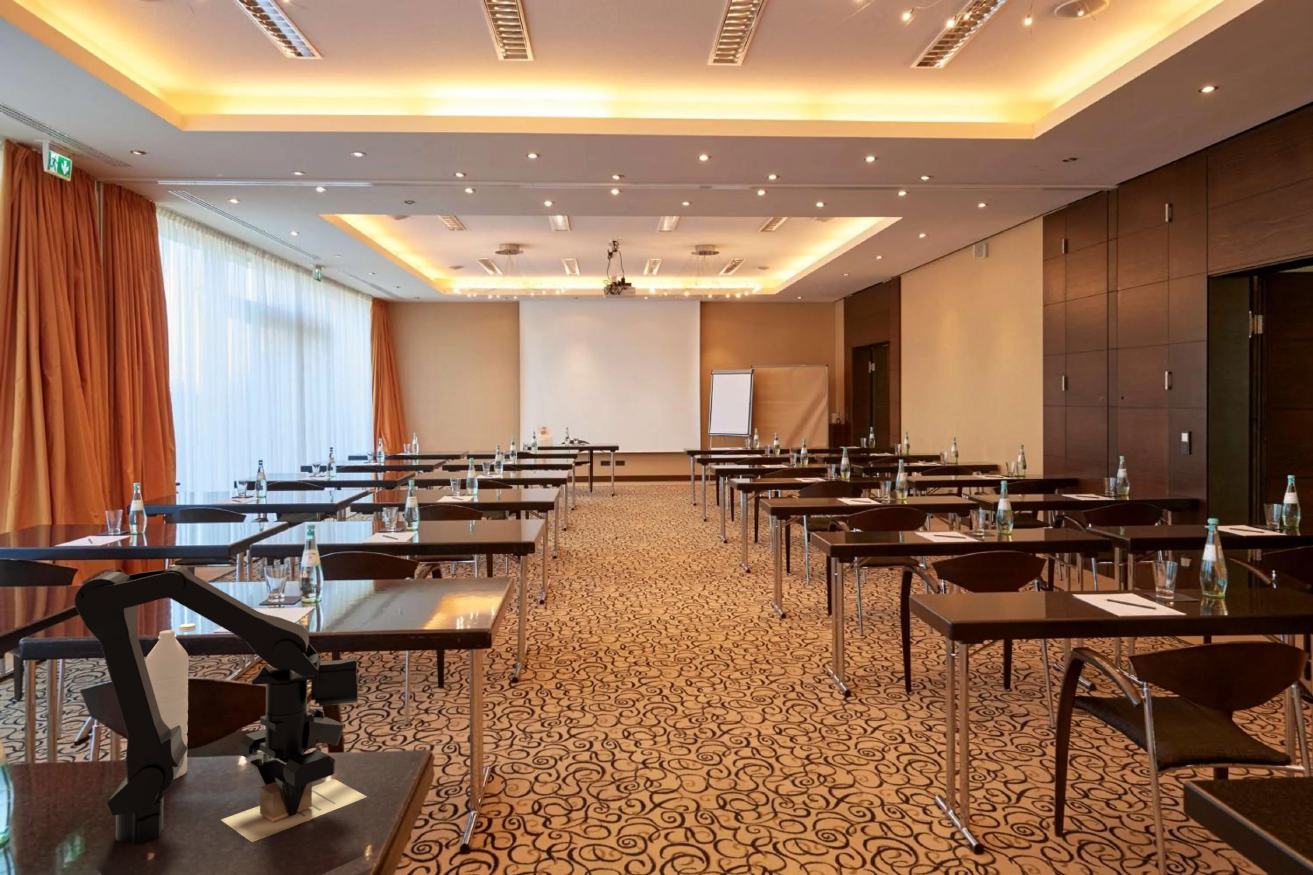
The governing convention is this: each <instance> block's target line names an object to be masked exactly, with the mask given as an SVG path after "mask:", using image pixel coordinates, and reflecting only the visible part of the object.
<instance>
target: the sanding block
mask: <svg viewBox="0 0 1313 875" xmlns="http://www.w3.org/2000/svg"><path fill="white" fill-rule="evenodd" d="M312 787H313V782H311V783H308V784H307V786H306V788H305V791H304V793H303V796H302V799H301V802H300V805H299V808H298V810H297V812H299V811H302V810H304V809H307V808H309V807H312ZM259 806H260V814H262V815H263V816H265V817H266V818H268V819H269V820H271V821H272V822H273V821H276V820H278V819H281V818H284V817H286V816H288V814H287V811H286V809H285V806H284V803H283V800H282V797H281V794H280V791H279V788H278V786H277V783H276V782H273V783H271V784H268V785H265V786H263V785H262V786H260V787H259Z"/></svg>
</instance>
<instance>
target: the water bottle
mask: <svg viewBox="0 0 1313 875" xmlns="http://www.w3.org/2000/svg"><path fill="white" fill-rule="evenodd" d="M178 629H179V630H178V631H179V632H180V633H188V632H194V631H195V630H196V624H195V623H182V624H180V625H179V627H178ZM176 637H178V636H177V635H176V630H173V629H166V630H162V631H159V636H158V637H157V639H158V641H157V643H156V644H155V645H154V647H152V649H151V651H150V652H149V653H148V654H147V656H146V658H145V659H144V660H145V663H146V667H147V670H148V674H149V677H150V681H151V684H152V688H153V691H154V695H155V698H156V701H157V705H158V708H159V712H160V715H161V718H162V720H163V722H164V723H165V724H166V725H167V726H168V727H169V728H170V729H172V728H174V727H176V726H178V725H180V726H181V732H182V740H183V742H184V744H185V745H186V746H187V747H188V735H187V734H188V729H189V728H188V727H189V726H188V722H189V720H188V719H189V715H188V711H189V698H188V697H189V685H188V684H189V662H190V660H189V654H188V652H187V651H186V649H185V648H184V647H183V645H182V644H181V643H180V642H179V640H177V638H176ZM187 756H188V750H187V751H186V753H185V755H184V761H183V764H182V766H181V768H180V769H179V771H178V773H177V775H176V777H175V778H174V780H175V779H179V778H180V777H182V776H183V775H186V772H187V771H188V757H187Z"/></svg>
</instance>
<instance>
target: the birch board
mask: <svg viewBox="0 0 1313 875" xmlns="http://www.w3.org/2000/svg"><path fill="white" fill-rule="evenodd" d="M366 798H368V796H367V795H365V794H363V793H361V792H359V791H357V790H356V789H354V788H352V787H350V786H349V785H346V784H345V783H342V782H341V781H339V780H337V779H335V778H333V779H329V780H327V781H325V782H321V783H318V784H316V785H312V807H309V808H307V809H304V810H302V811H299V812H297V813H296V814H295V815H292V816H286V817H284V818H281V819H278V820H276V821H273V822H272V821H271V820H269V819H268V818H266V817H265V816H263V815H262V814H260V805H258V806H255V807H253V808H249V809H247V810H244V811H241V812H238V813H236V814H233V815H231V816H227V817H225V818H221V819H220V820H221V822H223V823H224V824H226V825H227V826H229V828H231V829H232V830H234V831H235V832H237V834H239V835H241V836H242V837H244V838H245V839H246V840H248V841H249V842H250V843H255V842H256V841H259V840H262V839H264V838H267V837H269V836H273V835H274V834H277V833H280V832H282V831H285V830H287V829H290V828H293V827H295V826H298V825H299V824H302V823H305V822H308V821H311V820H313V819H316V818H318V817H321V816H322V815H326V814H328V813H330V812H333V811H335V810H338V809H340V808H343V807H346V806H348V805H351V804H353V803H356V802H359V801H360V800H363V799H366Z"/></svg>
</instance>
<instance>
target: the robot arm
mask: <svg viewBox="0 0 1313 875" xmlns="http://www.w3.org/2000/svg"><path fill="white" fill-rule="evenodd" d="M163 599H170V600H172V601H174V602H176V603H178V604H180V605H182V606H184V607H186V608H187V609H189V610H190V611H192V612H194V613H196V614H198V615H199V616H202V617H203V618H205V619H206V620H209V622H210V621H211V622H212V623H214V624H216V625H217V626H219V627H220V628H222V629H225V630H226V631H227V632H230V633H232V634H233V635H236V637H239V638H240V639H241V640H242V641H244V642H245V643H246V644H247V645H248V647H249V648H250V649H251V650H252V651H253V652H254V653H255V654H256V655H257V656H258V657H259V658H261V659H262V660H263V661H264V662H265V664H263V666H262V668H261V669H260V670H259V671H258V672H256V673H255V674H254V676H253V678H252V680H251V685H253V686H254V685H255V686H256V685H265V715H262V716H260V718H259V724H260V725H262V726H264V727H265V728H264V729H261V730H257V731H254V732H253V731H252V732H249V733H246V734H244V735H243V737H242V738H241V739H240V741H238V742H239V743H238V754H239V755H240V756H242V757H243V758H245V759H248V758H251V757H252V755H253V753H254V752H255V759H253V760H251V761H250V765H251V767H252V768H253V770H254V771H255V773H256V775H257V777H258V779H259V780H260V782H261V784H262V786H265V785H268V784H271V783H273V782H276V783H277V786H278V788H279V791H280V794H281V797H282V800H283V803H284V806H285V809H286V811H287V814H288V816H292V815H295V814H296V813H297V810H298V808H299V805H300V802H301V799H302V796H303V793H304V791H305V788H306V786H307V784H308V783H311V782H312V783H314V782H316V781H319V780H322V779H324V778H327V777H330V776H333V775H334V774H335V773H336V759H335V758H333V757H332V756H331V755H329V754H327V753H325V752H323V751H321V750H320V749H315V750H314V751H310V752H308V753H304V752H305V751H304V750H310V749H313V748H316V747H317V746H316V743H317V744H326V745H327V744H330V745H331V746H338V745H339V742H340V739H341V736H342V733H343V729H344V727H345V724H344V723H342V722H340V721H337V720H335V719H332V718H329V717H325V713H324V711H323V710H320V709H318V708H309V710H308V681H311V687H310V689H311V692H310V694H311V695H310V696H311V701H314V703H315V705H318V707H325V706H327V707H328V706H336V705H337V706H338V705H346V704H357V703H358V701H359V674H358V659H357V657H348V658H345V659H338V660H336V659H335V660H326V661H324V660H323V661H322V656H321V655H320V654H319V653H318V652H317V651H316V649H315V648H314V647H313V646H312V645H311V643H309V642H310V637H309V633H308V631H307V629H306V628H305V627H304V626H303V625H301V624H299V623H296V622H293V621H290V620H288V619H284V618H282V617H278V616H274V615H270V614H266V613H263V612H260V611H259V610H256V609H255V608H253V607H251V606H249V605H247V604H246V603H245V602H242V601H241V600H238V599H237V598H235V597H234V596H231V595H230V594H228V593H226V592H225V591H223V590H222V589H220V588H218V587H216V586H214V585H212V584H211V583H209V582H207V581H205V580H204V579H202V578H200V577H198V576H196V575H195V574H193V573H192V572H191V571H190V570H189V569H188V568H187V567H184V566H179V565H177V566H176V565H175V566H171V567H169V568H164V569H158V570H151V571H143V572H137V573H132V574H126V573H124V572H121V571H109V572H105V573H103V574H100V575H99V576H96V577H95V578H93V579H91V580H89V581H88V582H87V581H86V582H85V583H84V584H83V585H82V586H80V588H79V589H78V591H77V592H76V594H75V595H74V601H73V602H74V608H75V609H76V611H77V613H78V615H79V617H80V618H81V620H82V622H83V624H84V626H85V628H86V629H87V630H88V631H89V632H90V634H92V636H93V637H94V638H95V639H96V640H97V642H98V643H99V645H100V647H101V651H102V653H103V657H104V660H105V664H106V667H107V671H108V674H109V677H110V681H111V684H112V689H113V691H114V695H115V697H116V702H117V705H118V708H119V712H120V715H121V718H122V722H123V725H124V730H125V732H126V737H127V741H126V742H127V743H126V751H125V752H126V753H125V770H126V775H125V777H124V779H122V781H121V783H120V784H119V786H118V787H117V789H115V791H114V793H113V794H112V795H111V797H110V798H109V800H108V801H107V806H108V807H109V810H110V813H111V815H112V816H115V840H116V842H118V843H121V844H133V845H137V846H140V845H143V844H146V843H149V842H152V841H156V840H157V839H159V838H161V832H162V831H163V829H164V792H165V791H167V790H168V788H170V786H171V785H172V784H173V782H174V781H175V779H174V778H175V777H176V775H177V773H178V771H179V769H180V768H181V766H182V764H183V761H184V755H185V753H186V751H187V752H188V749H189V748H188V745H187V746H186V745H185V744H184V742H183V740H182V732H181V726H180V725H178V726H176V727H174V728H172V729H170V728H169V727H168V726H167V725H166V724H165V723H164V722H163V720H162V718H161V715H160V712H159V708H158V705H157V701H156V698H155V695H154V691H153V688H152V684H151V681H150V677H149V674H148V670H147V667H146V663H145V660H146V659H145V658H144V657H145V656H144V653H143V650H142V647H141V642H140V639H139V636H138V633H137V632H138V631H137V621H138V620H137V619H138V606H140V605H143V604H147V603H150V602H154V601H155V602H156V601H158V600H163Z"/></svg>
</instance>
